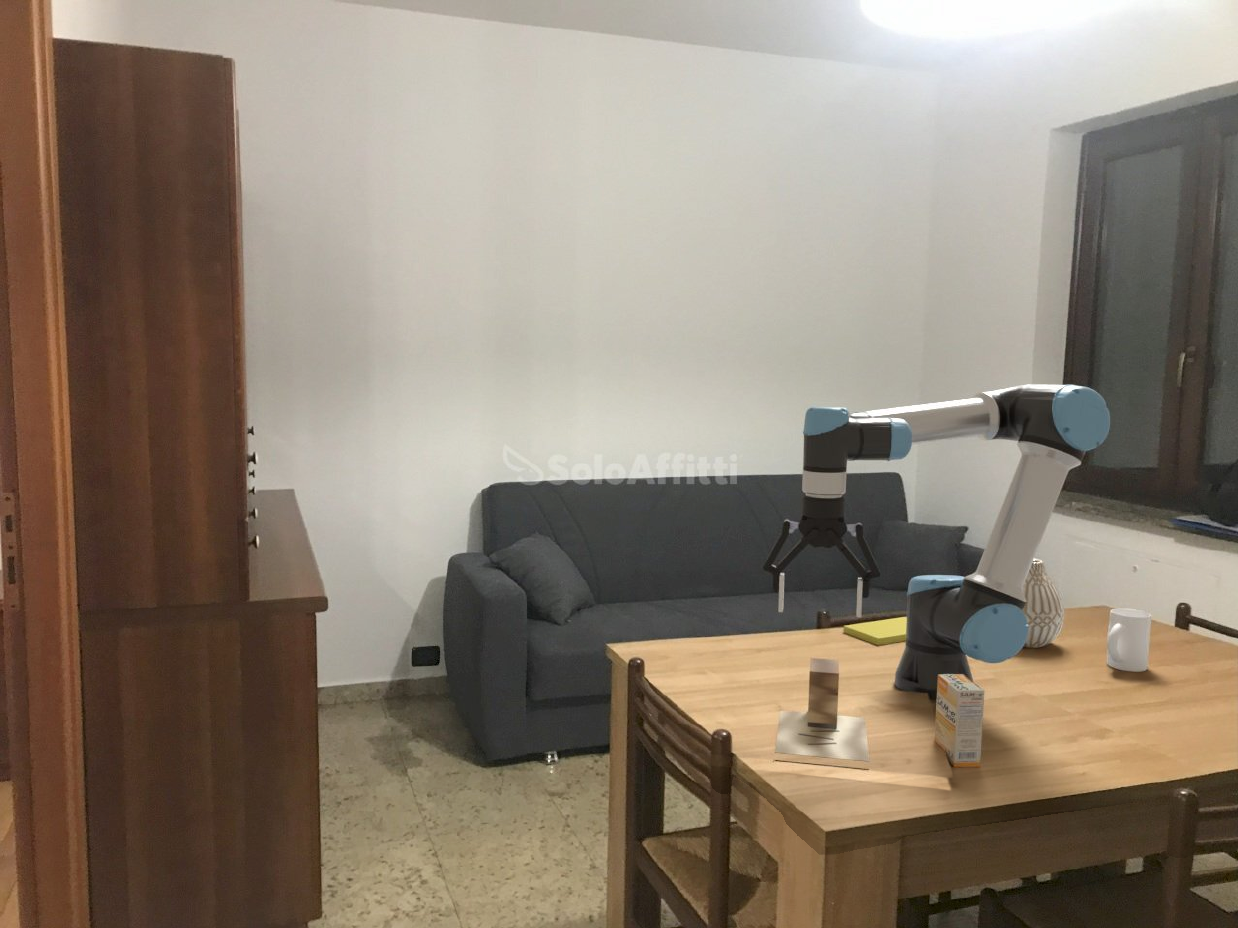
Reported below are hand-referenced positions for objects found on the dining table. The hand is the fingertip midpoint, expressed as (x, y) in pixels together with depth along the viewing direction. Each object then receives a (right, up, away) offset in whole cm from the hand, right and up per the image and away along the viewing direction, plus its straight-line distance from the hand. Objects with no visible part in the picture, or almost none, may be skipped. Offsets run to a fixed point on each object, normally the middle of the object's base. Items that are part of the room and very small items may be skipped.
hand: (819, 613), depth 174 cm
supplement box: (+21, -23, -11) cm, 33 cm away
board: (-1, -22, -6) cm, 22 cm away
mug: (+74, -18, +40) cm, 86 cm away
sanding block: (+1, -19, +1) cm, 19 cm away
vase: (+61, -16, +58) cm, 85 cm away
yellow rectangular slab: (+33, -16, +65) cm, 74 cm away
